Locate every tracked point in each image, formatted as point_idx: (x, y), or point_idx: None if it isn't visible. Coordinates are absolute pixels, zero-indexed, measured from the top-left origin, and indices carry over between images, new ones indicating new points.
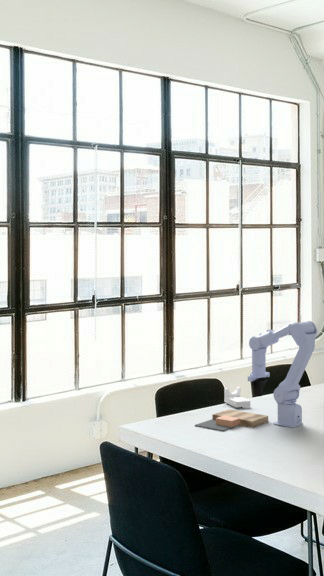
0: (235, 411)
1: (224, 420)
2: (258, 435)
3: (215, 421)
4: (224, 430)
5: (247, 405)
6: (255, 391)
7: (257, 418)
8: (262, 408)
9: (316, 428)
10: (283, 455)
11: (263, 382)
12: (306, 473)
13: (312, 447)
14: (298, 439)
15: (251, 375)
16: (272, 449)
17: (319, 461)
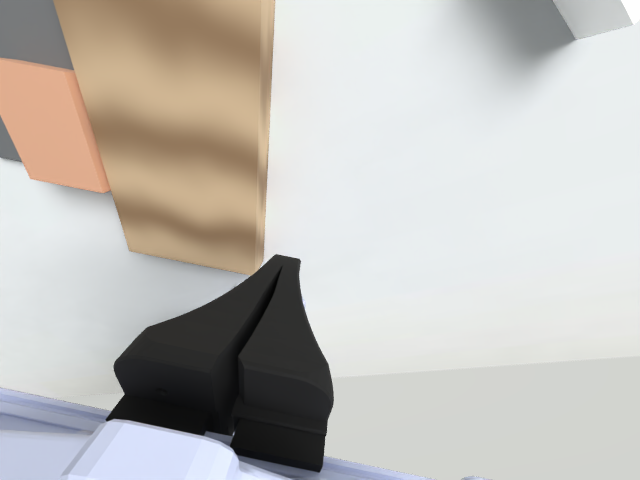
0: (232, 76)
1: (12, 128)
2: (92, 280)
3: (52, 18)
4: (10, 158)
5: (581, 12)
6: (256, 273)
7: (183, 252)
8: (553, 141)
9: None
10: (34, 355)
11: (233, 423)
12: (9, 389)
13: None
14: None
15: (18, 472)
16: (39, 333)
17: (71, 396)
